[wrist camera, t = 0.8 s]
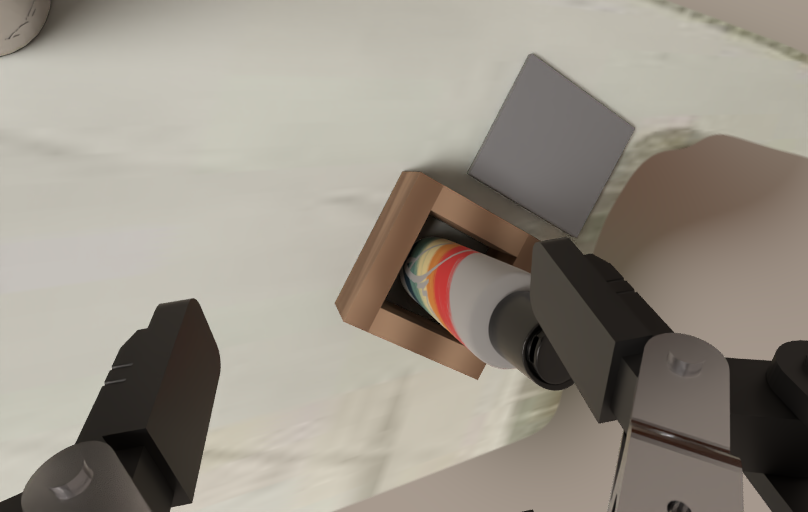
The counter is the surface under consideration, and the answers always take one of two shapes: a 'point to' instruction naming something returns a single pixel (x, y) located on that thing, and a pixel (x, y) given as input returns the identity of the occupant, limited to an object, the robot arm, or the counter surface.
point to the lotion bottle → (483, 308)
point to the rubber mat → (551, 147)
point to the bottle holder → (392, 246)
